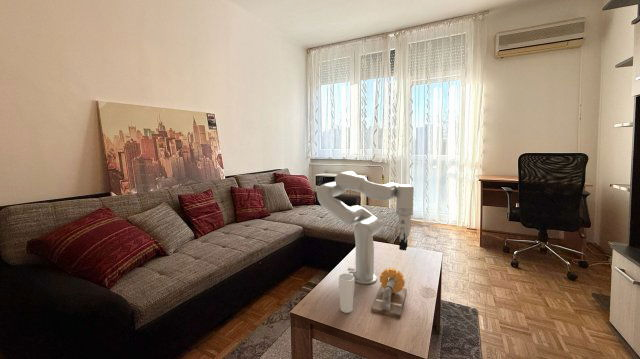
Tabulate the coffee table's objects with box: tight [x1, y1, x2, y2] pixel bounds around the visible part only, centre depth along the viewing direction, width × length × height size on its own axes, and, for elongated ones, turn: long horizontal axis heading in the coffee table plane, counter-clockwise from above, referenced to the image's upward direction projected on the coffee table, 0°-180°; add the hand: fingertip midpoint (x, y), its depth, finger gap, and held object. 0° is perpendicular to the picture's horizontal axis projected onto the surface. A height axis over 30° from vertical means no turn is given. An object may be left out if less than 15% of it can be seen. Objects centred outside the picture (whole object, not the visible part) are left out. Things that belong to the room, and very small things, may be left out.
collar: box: [379, 267, 406, 293], centre depth 129 cm, size 11×2×11 cm, turn 66°
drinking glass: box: [338, 273, 356, 314], centre depth 119 cm, size 7×7×15 cm
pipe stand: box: [370, 277, 407, 319], centre depth 125 cm, size 12×22×9 cm, turn 156°
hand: (403, 248), depth 132 cm, fingers open, 3 cm apart
